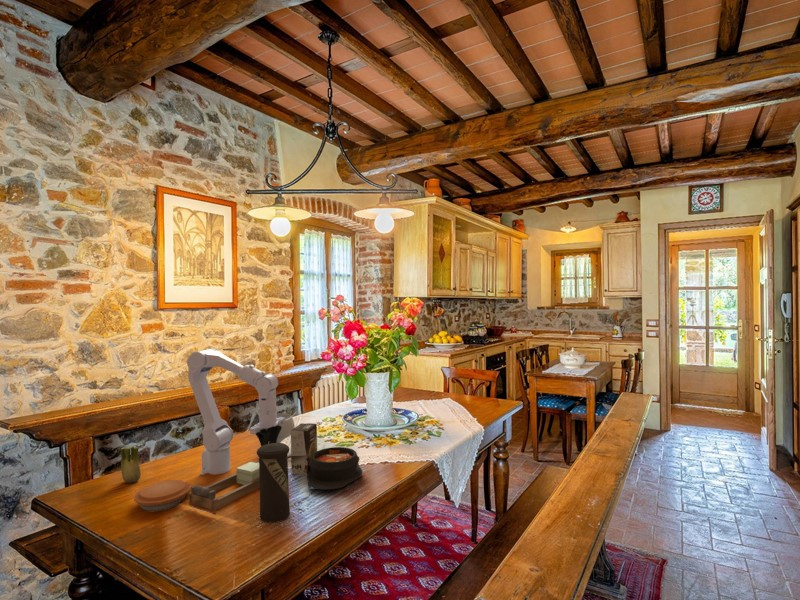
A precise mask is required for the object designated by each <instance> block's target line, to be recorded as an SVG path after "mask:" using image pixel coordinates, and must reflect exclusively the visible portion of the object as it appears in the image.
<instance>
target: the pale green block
mask: <svg viewBox="0 0 800 600" xmlns="http://www.w3.org/2000/svg"><path fill="white" fill-rule="evenodd" d="M235 472H236V473H237V478H236V481H237V482H236V484H238V485H242V486H244V485H246V484H248V483H250V482H252V481H254V480H256V479H258V478H260V477H259V462H258V463H257V462H253V461H249V462H247V463H244V464H242V465H240V466H238V467H236V470H235Z"/></svg>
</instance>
